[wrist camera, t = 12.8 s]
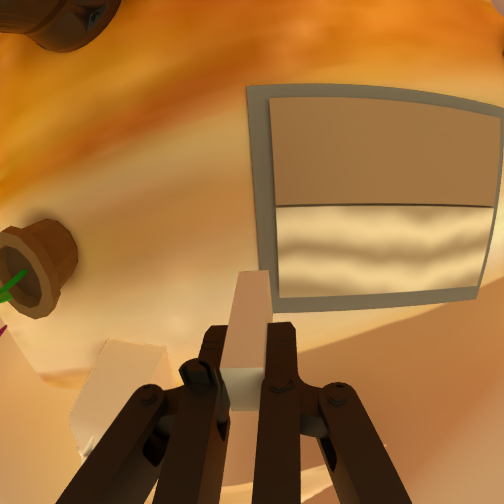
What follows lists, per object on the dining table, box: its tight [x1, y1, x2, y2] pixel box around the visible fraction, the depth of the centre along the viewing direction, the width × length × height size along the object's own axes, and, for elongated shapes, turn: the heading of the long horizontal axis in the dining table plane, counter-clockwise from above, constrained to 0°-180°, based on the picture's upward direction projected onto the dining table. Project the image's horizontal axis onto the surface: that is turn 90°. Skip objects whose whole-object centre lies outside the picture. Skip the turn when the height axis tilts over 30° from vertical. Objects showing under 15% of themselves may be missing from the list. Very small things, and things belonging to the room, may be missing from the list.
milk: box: [69, 339, 176, 466], centre depth 41 cm, size 12×12×26 cm
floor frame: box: [246, 84, 504, 313], centre depth 35 cm, size 30×35×3 cm
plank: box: [276, 203, 494, 298], centre depth 37 cm, size 12×30×2 cm, turn 94°
